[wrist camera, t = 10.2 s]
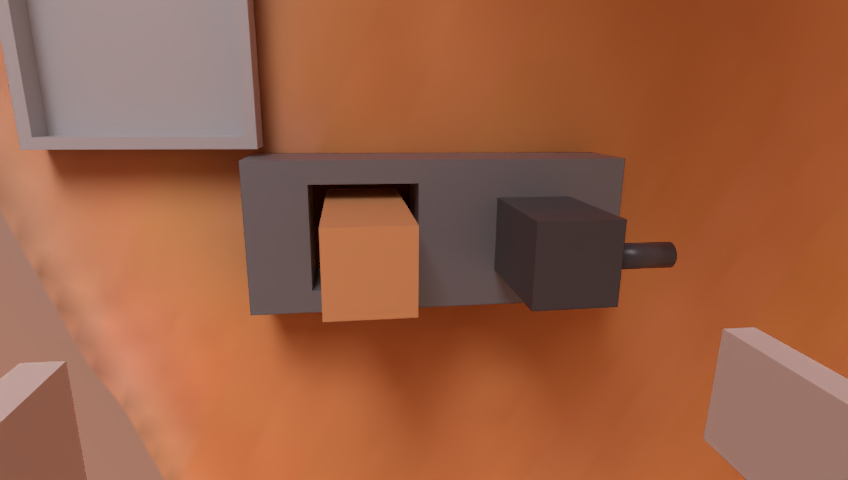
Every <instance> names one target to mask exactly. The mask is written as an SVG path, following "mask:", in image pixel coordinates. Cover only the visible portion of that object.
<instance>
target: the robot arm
mask: <svg viewBox="0 0 848 480" xmlns="http://www.w3.org/2000/svg"><path fill="white" fill-rule="evenodd" d="M703 439H704V440H705V441H706V442H707V443H708V444H709V445H710V446H711V447H712V448H713V449H714V450H716V451H717V452H718V453H719V454H720V455H721V456H722V457H723V458H724V459H725V460H726V461H727V462H728V463H729V464H730V465H731V466H732V467H733V468H735V469H736V470H737V471H738V472H739V473H740V474H741V475H742V476H743V477H744V478H745V479H746V480H848V379H847V378H845V377H843V376H842V375H840V374H838V373H836V372H834V371H833V370H831V369H829V368H827V367H825V366H824V365H822V364H820V363H818V362H816V361H815V360H813V359H811V358H809V357H807V356H806V355H804V354H802V353H800V352H798V351H797V350H795V349H793V348H791V347H789V346H788V345H786V344H784V343H782V342H780V341H779V340H777V339H775V338H773V337H771V336H770V335H768V334H766V333H764V332H762V331H761V330H759V329H757V328H755V327H749V328H728V329H723V332H722V337H721V343H720V348H719V354H718V360H717V365H716V371H715V376H714V382H713V388H712V393H711V399H710V404H709V410H708V415H707V421H706V427H705V432H704V438H703ZM0 480H87V478H86V473H85V467H84V461H83V456H82V450H81V444H80V438H79V432H78V427H77V421H76V416H75V410H74V404H73V398H72V392H71V387H70V382H69V376H68V370H67V364H66V361H59V362H58V361H57V362H38V363H37V362H36V363H19V364H18V365H17V366H16V367H14V368H13V369H12V370H11V371H9V372H8V373H7V374H6V375H5V376H3V377H2V378H1V379H0Z"/></svg>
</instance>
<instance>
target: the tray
mask: <svg viewBox="0 0 848 480" xmlns="http://www.w3.org/2000/svg"><path fill="white" fill-rule="evenodd" d="M0 39H1V44H2V50H3V55H4V61H5V66H6V72H7V78H8V83H9V89H10V94H11V100H12V105H13V111H14V116H15V122H16V127H17V133H18V138H19V144H20V149H21V150H123V149H259V148H261V147H263V135H262V120H261V105H260V90H259V75H258V60H257V45H256V30H255V15H254V0H0Z"/></svg>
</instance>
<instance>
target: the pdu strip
mask: <svg viewBox="0 0 848 480" xmlns="http://www.w3.org/2000/svg"><path fill="white" fill-rule="evenodd" d="M624 165H625V159H624V158H619V157H613V156H608V155H603V154H598V153H592V152H543V153H272V154H251V155H249V156H247V157H245V158H243V159H241V160H239V172H240V185H241V198H242V211H243V223H244V236H245V249H246V261H247V274H248V287H249V299H250V312H251V315H267V314H289V313H310V312H322V297H321V274H320V268H316V250H315V227H314V204H313V185H330V184H410V196H409V210H410V212H411V213H412V215H413V217H414V218H415V220H416V222H417V223H418V225H419V299H418V307H440V306H461V305H483V304H505V303H525V304H526V305H527V306H528V308H529V309H530V310H531V311H545V310H566V309H586V308H607V307H618V297H619V288H620V279H621V269H641V268H667V267H672V266H674V264H675V262H676V259H677V252H676V248H675V246H674V245H673V244H672V243H671V242H647V243H624V242H625V232H626V223H627V220H626V219H624V218H621V217H619V213H620V204H621V194H622V184H623V175H624Z"/></svg>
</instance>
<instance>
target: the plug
mask: <svg viewBox="0 0 848 480" xmlns="http://www.w3.org/2000/svg"><path fill="white" fill-rule="evenodd" d="M319 250H320V274H321V297H322V321H323V322H338V321H358V320H379V319H399V318H418V299H419V225H418V223H417V222H416V220H415V218H414V217H413V215H412V213H411V212H410V210H409V209H408V207H407V205H406V204H405V202H404V200H403V199H402V197H401V196H400V194H399V192H398V191H397V189H396V188H367V189H327V191H326V196H325V200H324V205H323V210H322V214H321V219H320V224H319Z"/></svg>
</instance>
